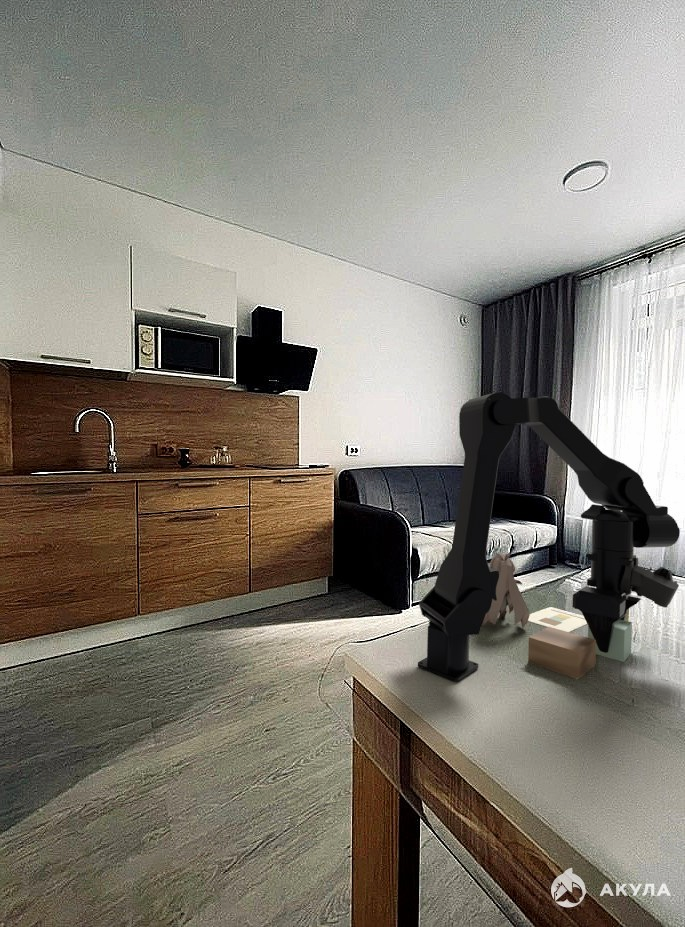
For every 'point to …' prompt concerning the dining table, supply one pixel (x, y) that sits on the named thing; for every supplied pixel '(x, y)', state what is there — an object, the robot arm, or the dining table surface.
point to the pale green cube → (618, 641)
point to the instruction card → (557, 619)
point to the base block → (562, 652)
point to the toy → (506, 592)
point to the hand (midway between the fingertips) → (609, 645)
